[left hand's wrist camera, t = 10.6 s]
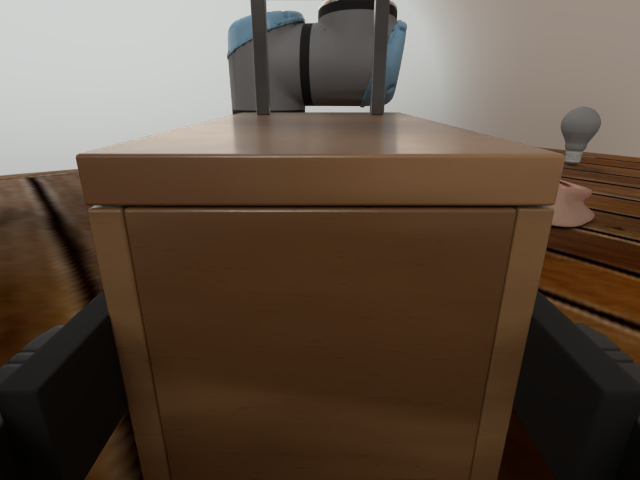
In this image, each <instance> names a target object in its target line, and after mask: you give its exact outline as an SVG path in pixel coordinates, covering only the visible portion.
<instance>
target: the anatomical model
mask: <svg viewBox="0 0 640 480" xmlns="http://www.w3.org/2000/svg"><path fill="white" fill-rule="evenodd" d="M591 195H592V191H591V190H590V189H588V188H586V187H583V186H579V185H576V184H572V183H569V182H566V181H563V180H560V183H559V188H558V193H557V197H556V202H555V204H554V205H551V206H549V207H551V208H553V209H554V215H553V220H552V224H551V226H559V227H577V226H581V225H584V224H586V223H588V222H590V221H591V220H592V219H593V218H594V216H595V215H594V213H593V212H592V211H591V210H590V209H589V208H588V207H586V206H585V204H584V202H585V201H586V200H587V199H589V198H590V197H591Z"/></svg>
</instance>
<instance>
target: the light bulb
mask: <svg viewBox="0 0 640 480" xmlns="http://www.w3.org/2000/svg"><path fill="white" fill-rule="evenodd" d="M600 125H601V119H600V116H599V114H598V113H597V112H596V111H595V110H594V109H592V108H588V107H580V108H576V109H573V110H571V111H570V112H569V113H568V114H567V115H566V116H565V117H564V118H563V120H562V122H561V131H562V134H563V136H564V139H565V148H566V156H565V160H564V161H565V162H567V163H568V164H577V163H579V162H581V161H580V160H581V159H580V158H581V155H582V154H583V151H584V150H585V148H586V146H587V144H588V142H589V141H590V140H591V138H592V137H593V136H594V135H595V134H596V133H597V132H598V130H599V128H600Z"/></svg>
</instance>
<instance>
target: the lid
mask: <svg viewBox="0 0 640 480" xmlns="http://www.w3.org/2000/svg"><path fill="white" fill-rule="evenodd" d="M389 5H390V0H375V1H374V25H373V49H372V73H371V97H370V113H270V89H269V65H268V40H267V16H266V0H251V17H252V36H253V55H254V74H255V93H256V112H257V113H238V114H234V115H230V116H226V117H222V118H218V119H214V120H210V121H206V122H202V123H199V124H194V125H191V126H187V127H183V128H179V129H175V130H171V131H167V132H163V133H159V134H155V135H151V136H147V137H143V138H139V139H135V140H131V141H127V142H123V143H119V144H115V145H112V146H108V147H104V148H100V149H96V150H92V151H88V152H84V153H80V154H78V155H76V161H77V165H78V170H79V175H80V180H81V185H82V189H83V194H84V199H85V203H86V204H87V205H90V206H551V205H554V204H555V202H556V197H557V193H558V188H559V183H560V179H561V174H562V169H563V164H564V160H565V156H564V155H563V154H560V153H556V152H552V151H548V150H545V149H541V148H537V147H533V146H529V145H525V144H521V143H517V142H513V141H509V140H505V139H501V138H497V137H493V136H489V135H485V134H481V133H477V132H473V131H469V130H466V129H462V128H457V127H454V126H450V125H446V124H442V123H438V122H434V121H430V120H426V119H422V118H418V117H414V116H410V115H406V114H402V113H384V99H385V81H386V62H387V43H388V24H389Z"/></svg>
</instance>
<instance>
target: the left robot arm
mask: <svg viewBox="0 0 640 480" xmlns="http://www.w3.org/2000/svg"><path fill="white" fill-rule="evenodd" d="M127 408H128V402H127V398H126V393H125V388H124V384H123V379H122V374H121V369H120V365H119V360H118V355H117V350H116V346H115V341H114V336H113V331H112V327H111V322H110V317H109V312H108V308H107V303H106V298H105V293H104V290H103V291H102V292H100V293H99V294H98V295H97V296H96V297H95V298H94V299H93V300H92V301H91V302H90V303H88V304H87V305H86V306H85V307H84V308H83V309H82V310H81V311H80V312H79V313H78V314H76V315H75V316H74V317H73V318H72V319H71V320H70V321H69V322H68V323H67V324H66V325H57V326H55V327H53V328H52V329H50V330H48V331H46V332H44V333H42V334H40V335H39V336H37V337H36V338H34V339H33V340H32V341H31V342H30V343H29V344H27V345H26V346H25V347H24V348H23V349H22V350H21V353H17V354H16V355H15V356H14V357H12V358H11V359H10V360H9V361H8V364H4V365H3V366H2V367H1V368H0V480H84V479H85V477H86V476H87V474H88V472H89V471H90V469H91V467H92V466H93V464H94V463H95V461H96V459H97V458H98V456H99V454H100V453H101V451H102V449H103V448H104V446H105V444H106V443H107V441H108V440H109V438H110V436H111V435H112V433H113V431H114V430H115V428H116V426H117V425H118V423H119V421H120V420H121V418H122V416H123V415H124V413H125V412H126V410H127ZM512 408H513V409H514V411H515V412H516V414H517V416H518V417H519V419H520V421H521V422H522V424H523V426H524V427H525V429H526V431H527V432H528V434H529V435H530V437H531V439H532V440H533V442H534V444H535V445H536V447H537V449H538V450H539V452H540V454H541V455H542V457H543V459H544V460H545V462H546V463H547V465H548V467H549V468H550V470H551V472H552V473H553V475H554V477H555V478H556V480H640V365H638V364H637V363H634V362H633V359H631V358H630V357H629V356H628V355H627V354H626V353H624V352H623V351H620V348H619V347H617V346H616V345H615V344H614V343H613V342H612V341H610V340H609V339H608V338H607V337H606V336H605V335H603V334H601V333H599V332H597V331H596V330H594V329H592V328H590V327H588V326H586V325H584V324H574V323H573V322H572V321H571V320H570V319H568V318H567V317H566V316H565V315H564V314H563V313H562V312H561V311H560V310H559V309H558V308H556V307H555V306H554V305H553V304H552V303H551V302H550V301H549V300H548V299H547V298H545V297H544V296H543V295H542V294H541V293H540V292H539V291H538V290H537V295H536V300H535V304H534V309H533V314H532V317H531V321H530V326H529V331H528V336H527V340H526V345H525V350H524V355H523V359H522V364H521V369H520V373H519V378H518V383H517V388H516V392H515V397H514V402H513V406H512Z"/></svg>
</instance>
